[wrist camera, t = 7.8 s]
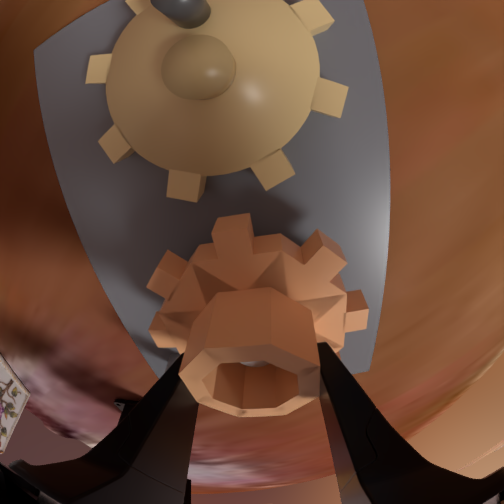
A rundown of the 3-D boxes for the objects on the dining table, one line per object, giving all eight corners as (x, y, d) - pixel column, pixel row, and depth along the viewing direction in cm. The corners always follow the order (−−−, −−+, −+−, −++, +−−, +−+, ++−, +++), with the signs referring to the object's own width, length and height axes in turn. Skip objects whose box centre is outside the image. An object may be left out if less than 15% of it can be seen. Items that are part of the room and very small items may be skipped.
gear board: (365, 359, 16) (380, 416, 12) (167, 374, 18) (152, 426, 14) (340, -36, 5) (373, -87, 2) (46, 51, 7) (-19, 51, 3)
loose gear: (352, 362, 13) (366, 422, 10) (191, 375, 14) (178, 432, 11) (362, 198, 9) (410, 253, 5) (123, 235, 10) (72, 293, 6)
